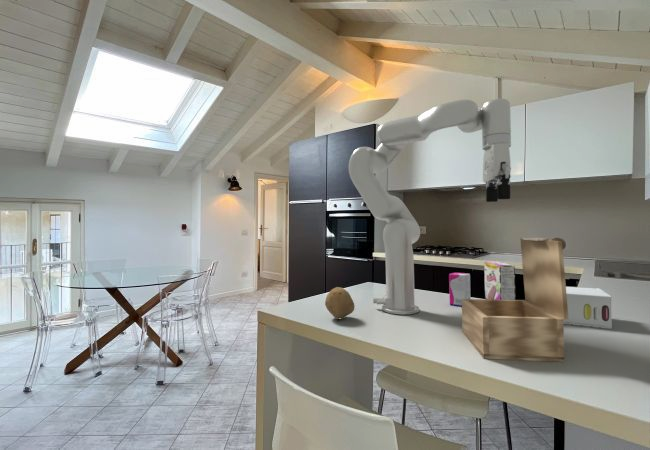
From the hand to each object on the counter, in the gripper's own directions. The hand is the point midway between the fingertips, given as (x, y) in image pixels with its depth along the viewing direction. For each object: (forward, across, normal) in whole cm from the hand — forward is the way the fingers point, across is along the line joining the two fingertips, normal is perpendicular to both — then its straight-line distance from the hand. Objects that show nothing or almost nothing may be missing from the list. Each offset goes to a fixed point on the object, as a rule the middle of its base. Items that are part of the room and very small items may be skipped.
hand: (497, 200), depth 97 cm
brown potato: (+36, 0, -48) cm, 60 cm away
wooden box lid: (+19, +19, +1) cm, 27 cm away
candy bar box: (+36, -12, +4) cm, 39 cm away
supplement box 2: (+37, -6, +22) cm, 43 cm away
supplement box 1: (+36, -22, -6) cm, 43 cm away
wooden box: (+36, +19, -5) cm, 41 cm away
